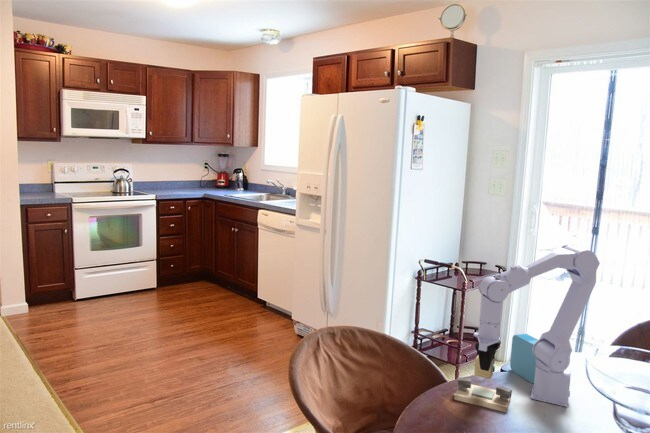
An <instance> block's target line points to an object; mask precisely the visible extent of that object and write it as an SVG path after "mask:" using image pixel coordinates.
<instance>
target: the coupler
mask: <svg viewBox="0 0 650 433" xmlns="http://www.w3.org/2000/svg"><path fill="white" fill-rule="evenodd" d="M474 361H475V363H474V372H473V373H474V376H475V377H480V378H482V379H483V378H484V379H488V380H491V379H492V377H493V374H494V361H495V357H494V358H492V361H491V365H490V368H489V370H488V371H485V370H481V368H480V362H479V356H478V355H477V356H476V357H475V360H474Z"/></svg>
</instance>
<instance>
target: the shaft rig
mask: <svg viewBox="0 0 650 433" xmlns="http://www.w3.org/2000/svg"><path fill="white" fill-rule="evenodd" d="M456 385H457V389H456V391H455V392H454V398H453V399H454V400H455V401H459V402H463V403H467V404H471V405H476V406H480V407H484V408H487V409H490V410H496V411H499V412H503V413H508V410H509V406H510V402H511V399H512V394H513V389H512V388H509V387H506V386H504V385H500V384H498V385H497V386H496V388H495V389H494V388H489V387H485V386H481V385H476V384H472V379H471V378H467V377H459V376H458V377H457V380H456Z"/></svg>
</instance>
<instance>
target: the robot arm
mask: <svg viewBox="0 0 650 433" xmlns="http://www.w3.org/2000/svg"><path fill="white" fill-rule="evenodd" d="M600 263H601V262H600V260H599V259H598V257H597V255H596V254H595V252H594V251H592V250H589V249H585V248H582V247H578V246H575V245H574V244H570V243H567V244H564V245H562V246H561V247H560V246H559V247H557V248H555V249H554V250H553V251H552V252H550V253H548V254H547V255H544V256H542V257H541V258H538V259H537V260H535V261H534V262H532V263H530V264H527V266H522V265H515V264H514V265H512V266H510V267H509V269H508V270H505V271H503V272H500V273H496V274H495V275H494V276H486V277H484V278H483V279H482V280H481V282H480V283H479V284H478V286H477V287H478V292H479V293H480V294H481V298H480V309H479V318H478V319H479V322H478V330H477V331H478V332H474V333H473V337H475V338H477V340H478V342H476V343H475V344H474V345H475V347H474V348H475V350H476V352H477V356H479V362H480V368H481V370H485V371H488V370H489V368H490V365H491V361H492V358H494V359H495V356H496V353H497V351H498V348H499V346H500V345H501V344H502V342H501V329H502V328H501V325H502V316H503V303H504V301H505V300H507V299H506V298H508V295H509V294H511V293H513V292H514V291H517V290H519V289H521V288H523V287H526V286H527V285H530V283H531V279H533V278H536V277H538V276H540V275H543V274H545V273H547V272H550V271H553V270H556V269H559V268H560V269H564V270H566V271H567V272H568V274H569V277H570V279H571V284H570V285H569V288H568V290H567V292H566V294H565V297H564V298H563V301H562V303H561V305H560V307H559V310H558V312H557V314H556V316H555V318H554V319H553V322H552V325H551V326H550V329H549V330H548V331H545V332H544V333H542V334H541V335H540V337H539V339H537V340H538V341H537V342H535V344H534V345H533V348H532V352H533V355H534V356H535V357H536V368H535V378H534V384H533V386H532V387H531V388H532V389H531V394H530V399H532V400H535V401H541V402H545V403H547V404H548V403H550V404H553V405H557V406H562V407H566V408H567V407H568V404H569V398H570V396H571V390H570V385H571V376H572V375H571V374H572V372H571V371H570V370H567V369H568V368H569V366H570V364H571V354H572V352H573V348H572V345H571V342H570V340H571V337H572V335H573V332H574V330H575V329H576V326H577V324H578V322H579V320H580V318H581V315H582V313H583V312H584V309H585V307H586V305H587V303H588V301H589V299H590V296H591V294H592V293H593V290H594V288H595V286H596V283H597V271H598V268H599V266H600Z"/></svg>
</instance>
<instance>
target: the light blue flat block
mask: <svg viewBox="0 0 650 433" xmlns="http://www.w3.org/2000/svg"><path fill="white" fill-rule="evenodd" d="M538 340H539V339H537V338H535V337H533V336H532V335H530V334H528V333H521V334H514V335H513V336H512V339H511V349H510V350H511V352H510V362H509V366H510V370H511V371H512V372H514V373H515V374H517V375H518V376H519V377H522V378H523V379H525V380H526V381H528V382H530V383H531V384H533V385H534V378H535V368H536V357H535V356H534V355H533V352H532V348H533V345H534V344H535V342H537V341H538Z"/></svg>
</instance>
